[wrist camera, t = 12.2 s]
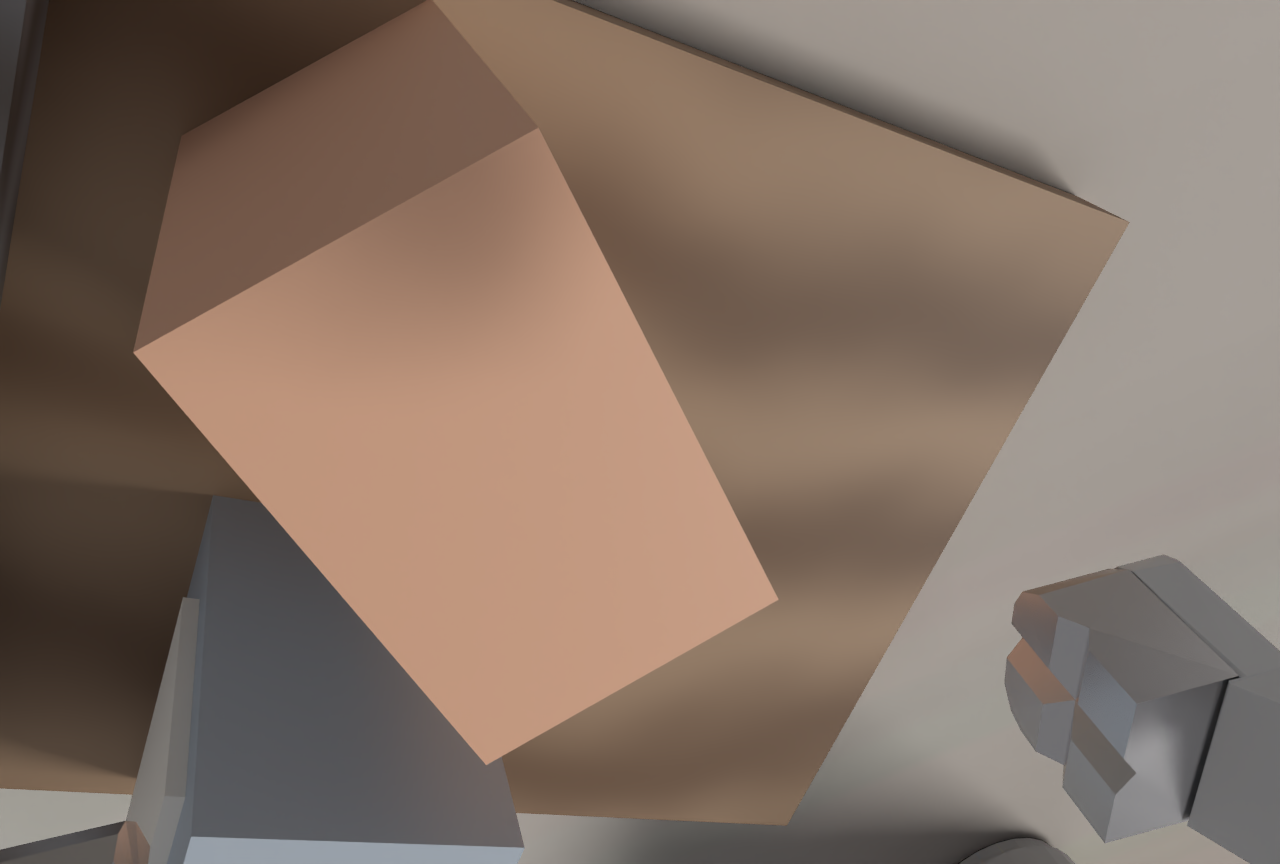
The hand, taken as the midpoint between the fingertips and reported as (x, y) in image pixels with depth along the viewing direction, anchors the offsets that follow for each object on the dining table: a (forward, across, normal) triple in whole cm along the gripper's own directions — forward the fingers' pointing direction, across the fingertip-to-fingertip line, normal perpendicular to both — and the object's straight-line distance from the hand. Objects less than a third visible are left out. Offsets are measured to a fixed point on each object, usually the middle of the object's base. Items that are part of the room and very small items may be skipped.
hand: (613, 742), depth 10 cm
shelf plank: (+16, +1, -6) cm, 17 cm away
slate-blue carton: (+13, -6, -9) cm, 17 cm away
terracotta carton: (+14, -1, -1) cm, 14 cm away
